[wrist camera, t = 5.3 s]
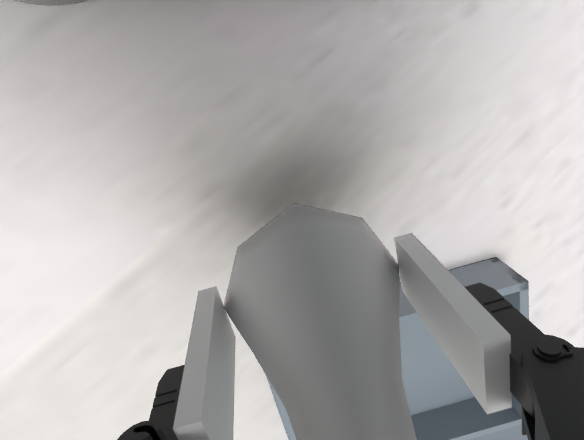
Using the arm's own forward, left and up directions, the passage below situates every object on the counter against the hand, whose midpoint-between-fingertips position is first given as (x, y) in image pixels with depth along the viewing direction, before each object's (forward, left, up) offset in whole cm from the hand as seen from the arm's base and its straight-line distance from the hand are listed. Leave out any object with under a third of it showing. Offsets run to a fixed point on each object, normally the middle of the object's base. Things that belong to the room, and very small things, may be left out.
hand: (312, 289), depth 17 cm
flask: (0, 0, -1) cm, 1 cm away
